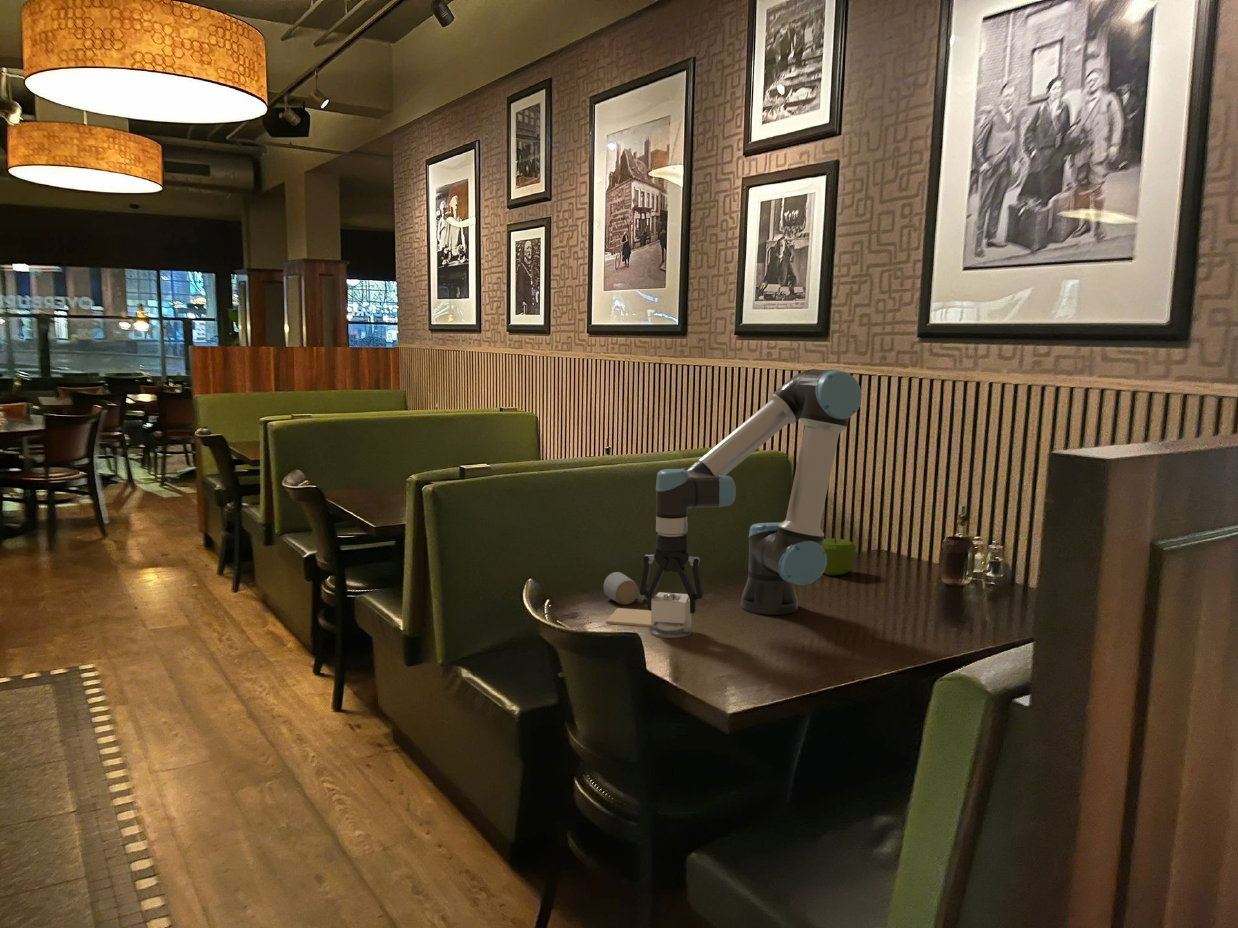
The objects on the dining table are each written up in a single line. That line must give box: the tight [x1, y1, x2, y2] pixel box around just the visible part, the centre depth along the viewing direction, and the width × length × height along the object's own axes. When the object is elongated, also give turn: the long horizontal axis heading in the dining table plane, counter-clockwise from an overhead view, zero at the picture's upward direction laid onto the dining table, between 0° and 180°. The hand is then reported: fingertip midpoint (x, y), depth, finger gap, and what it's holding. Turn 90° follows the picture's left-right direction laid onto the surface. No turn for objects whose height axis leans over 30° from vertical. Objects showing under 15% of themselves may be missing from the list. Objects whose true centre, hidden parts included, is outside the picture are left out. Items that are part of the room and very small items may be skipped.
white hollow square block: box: [652, 591, 689, 624], centre depth 218 cm, size 8×8×5 cm
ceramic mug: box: [603, 571, 646, 606], centre depth 245 cm, size 11×8×8 cm
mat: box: [605, 607, 655, 628], centre depth 230 cm, size 12×12×1 cm
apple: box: [822, 537, 857, 577], centre depth 277 cm, size 12×12×11 cm
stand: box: [649, 592, 692, 640], centre depth 218 cm, size 10×10×10 cm
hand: (671, 624), depth 218 cm, fingers closed on white hollow square block, 8 cm apart
